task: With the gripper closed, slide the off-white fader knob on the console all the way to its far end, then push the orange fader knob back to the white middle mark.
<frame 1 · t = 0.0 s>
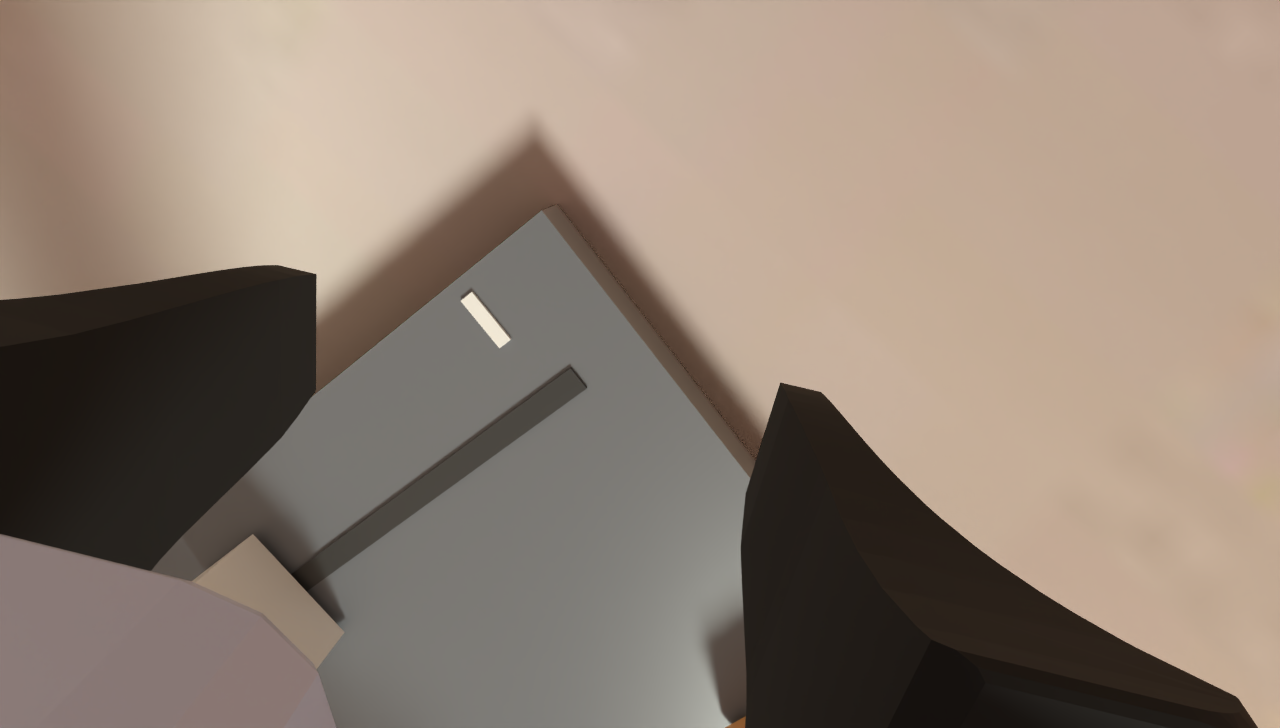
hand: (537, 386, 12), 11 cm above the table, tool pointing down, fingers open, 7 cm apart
console: (548, 633, 25), on the table
fader a: (240, 636, 22), point 4 cm above the table, slide at 0.0 cm
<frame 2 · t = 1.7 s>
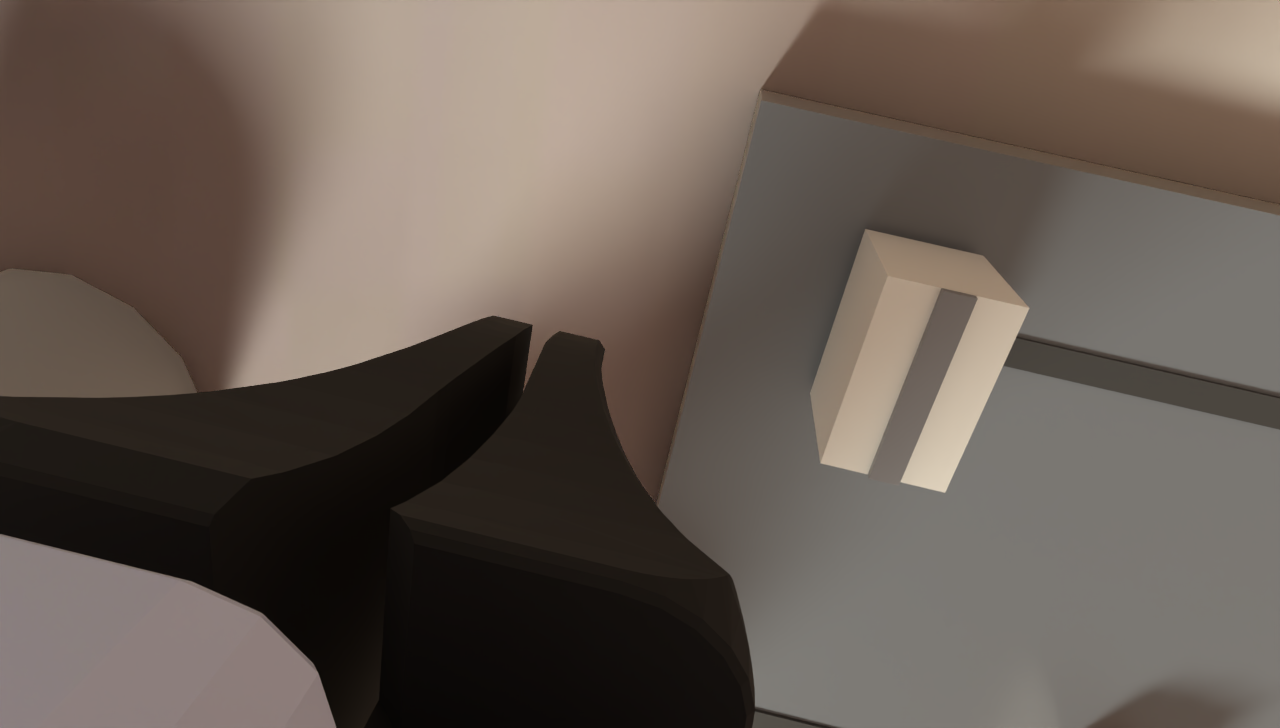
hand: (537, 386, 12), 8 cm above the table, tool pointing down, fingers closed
console: (975, 543, 22), on the table
cup: (83, 395, 24), on the table
fader a: (904, 358, 16), point 4 cm above the table, slide at 0.0 cm
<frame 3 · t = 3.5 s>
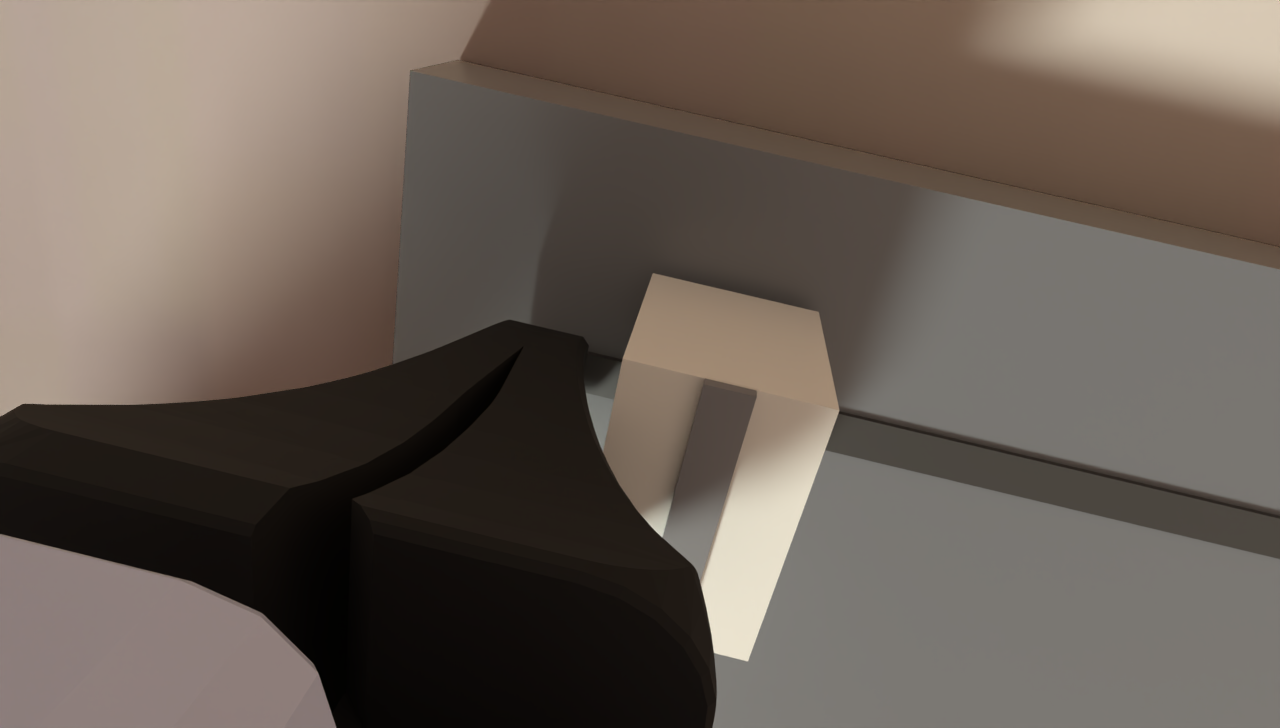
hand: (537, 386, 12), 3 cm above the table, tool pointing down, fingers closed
console: (808, 647, 17), on the table
fader a: (697, 461, 11), point 4 cm above the table, slide at 1.2 cm, touching gripper
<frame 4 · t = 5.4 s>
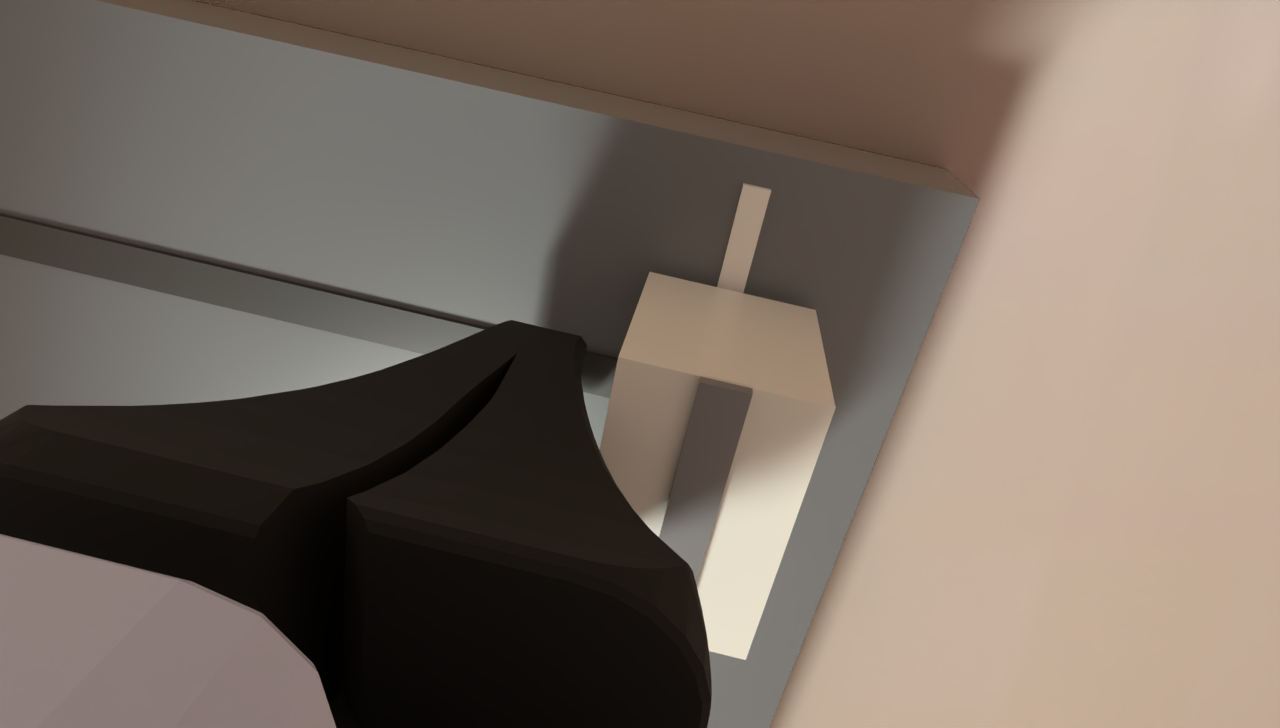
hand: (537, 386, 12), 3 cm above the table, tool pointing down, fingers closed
console: (380, 542, 17), on the table
fader a: (695, 460, 11), point 4 cm above the table, slide at 11.0 cm, touching gripper
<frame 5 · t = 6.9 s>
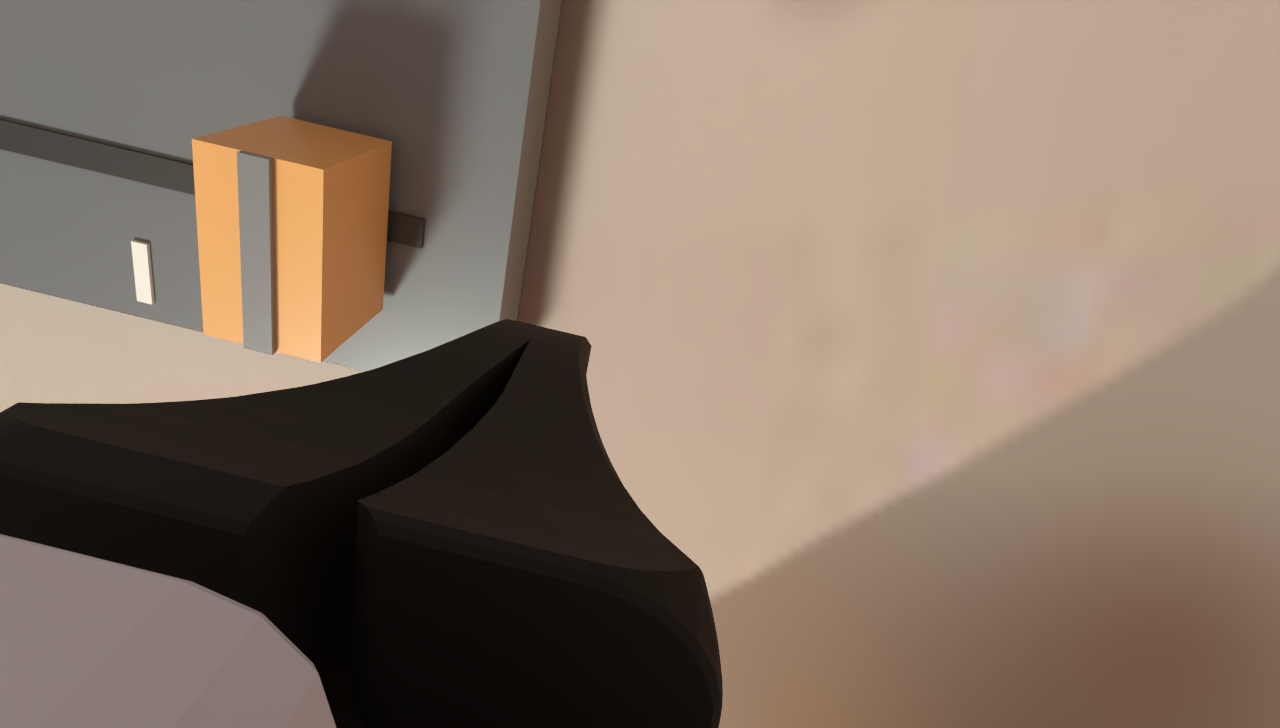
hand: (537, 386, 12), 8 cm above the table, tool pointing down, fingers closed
fader b: (298, 236, 16), point 4 cm above the table, slide at 10.0 cm
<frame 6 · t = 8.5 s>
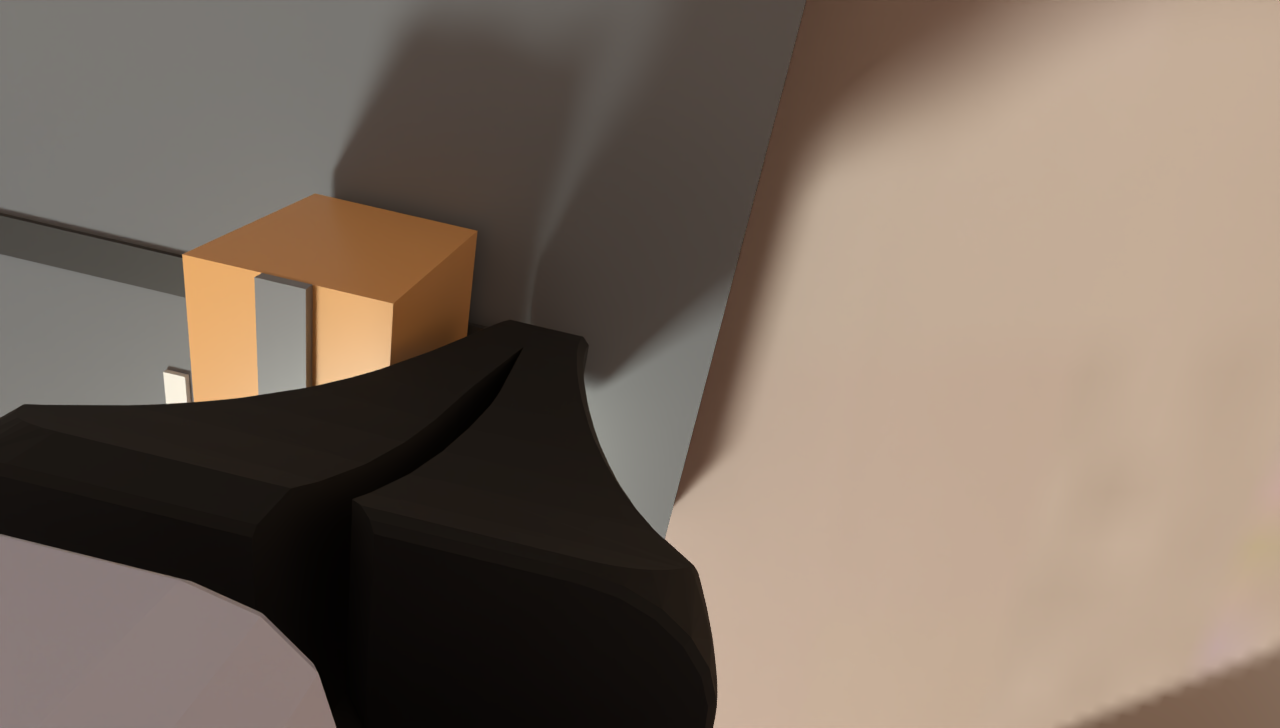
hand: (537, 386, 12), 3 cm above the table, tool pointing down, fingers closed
fader b: (343, 376, 11), point 4 cm above the table, slide at 8.9 cm, touching gripper
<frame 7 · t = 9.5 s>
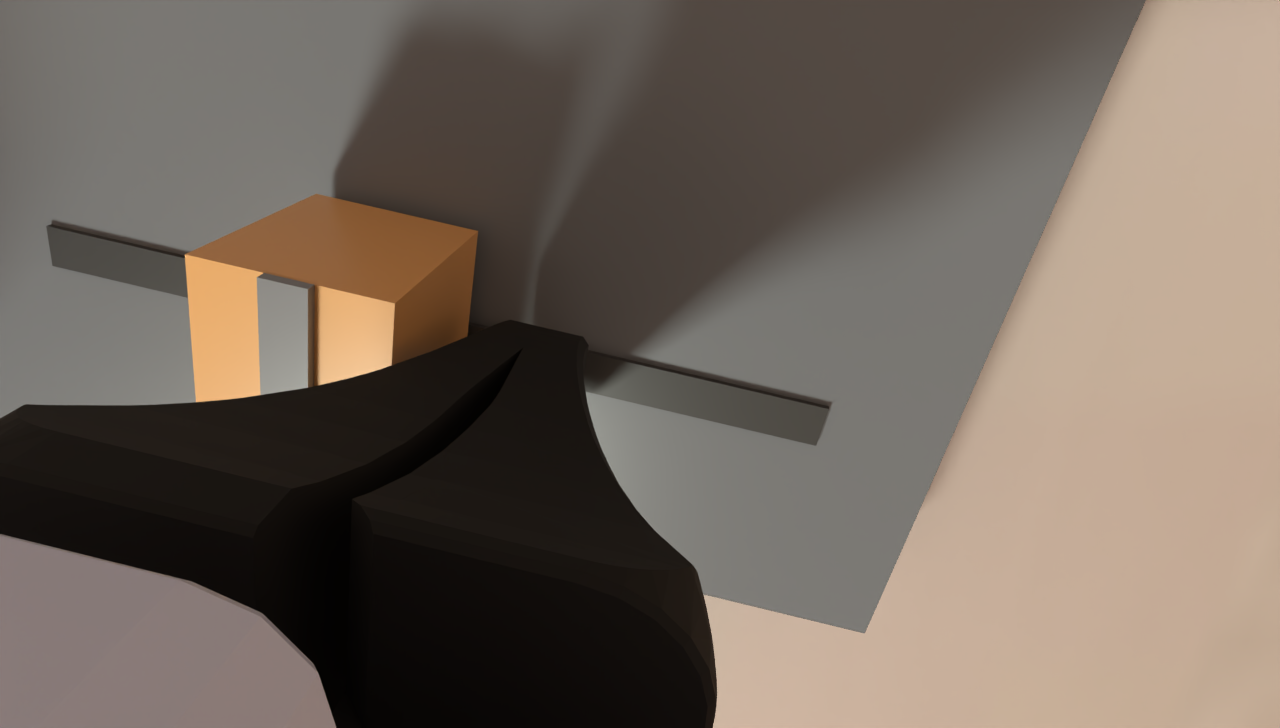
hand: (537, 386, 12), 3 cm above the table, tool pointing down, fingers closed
fader b: (344, 375, 11), point 4 cm above the table, slide at 4.9 cm, touching gripper
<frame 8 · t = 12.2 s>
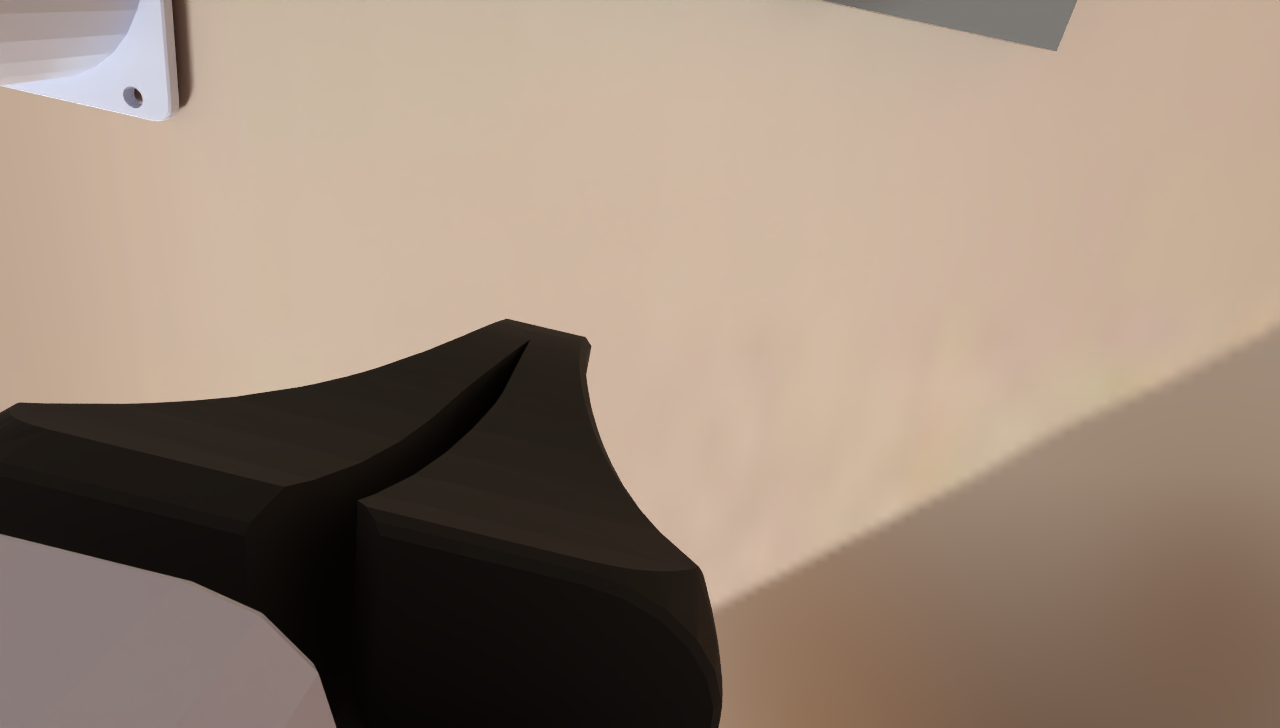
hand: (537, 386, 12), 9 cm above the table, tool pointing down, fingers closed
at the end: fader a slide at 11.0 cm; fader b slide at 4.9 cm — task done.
